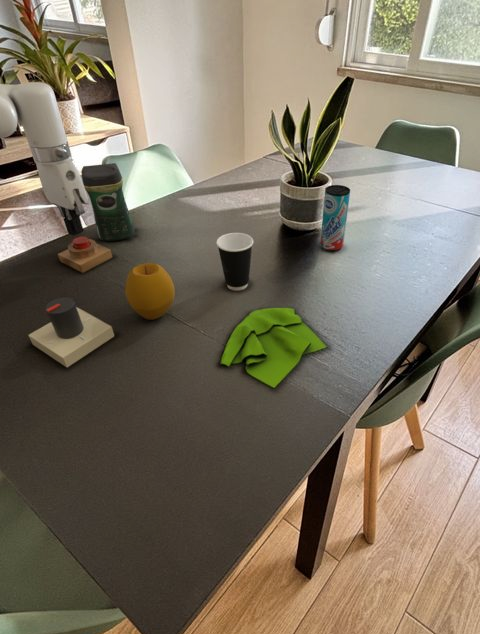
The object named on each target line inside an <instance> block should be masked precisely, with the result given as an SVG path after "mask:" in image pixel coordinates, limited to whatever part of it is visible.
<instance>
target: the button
mask: <svg viewBox="0 0 480 634" xmlns="http://www.w3.org/2000/svg"><path fill="white" fill-rule="evenodd" d="M88 239H89V238H88V237H87V236H78V237H76V238H73V240H72V242H73V244H74V247H75V249H78V250H81V249H86V248H88V247H90V243H89V240H88Z"/></svg>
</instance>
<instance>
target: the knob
mask: <svg viewBox="0 0 480 634" xmlns="http://www.w3.org/2000/svg"><path fill="white" fill-rule="evenodd" d="M76 307H77V305H76V303H75V300H74V299H72V298H70V297H58V298H55V299H53V300H51V301H49V302H48V303H47V304H46V306H45V312H46V314H47V316H48V318H49V321H50V322H51V323H52V325H53V328H54V330H55V332H56V334H57V336H58V337H60V338H63V339H69V338H73V337H76V336H78V335H79V334H80V333H81V332H82V331H83V329H84V327H83V324H82V321H81V319H80V316H79V313H78V311H77V308H78V307H77V308H76Z"/></svg>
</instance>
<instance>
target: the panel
mask: <svg viewBox="0 0 480 634" xmlns="http://www.w3.org/2000/svg"><path fill="white" fill-rule="evenodd" d="M76 308H77V311H78V313H79V316H80V319H81V321H82V324H83V327H84V329H83V331H82V332H81V333H80V334H79V335H78V336H76V337H73V338H69V339H63V338H60V337H58V336H57V334H56V332H55V330H54V328H53V325H52V323H51V321H50V322H49V323H46V324H45V325H43V326H42V327H39V328H37V329H36V330H34V331H33V332H30V333H29V334H28V335H27V336H28V337H29V339H30V342H31V344H32V345H33V346H34V347H35V348H37V349H38V350H40V351H42V352H43V353H44V354H46V355H47V356H49V357H50V358H52V359H53V360H55V361H56V362H58V363H60V364H61V365H62V366H64V367H66V368H69V367H71V366H72V365H73V364H75V363H77V362H78V361H79V360H81V359H83V358H84V357H86V356H87V355H88V354H90V353H92V352H93V351H94V350H96V349H97V348H99V347H101V346H102V345H103V344H106V343H107V342H108V341H110V340H111V339H113V338H114V337H115V332H114V330H113V326H112V325H110V324H108V323H106V322H104V321H103V320H101V319H99V318H98V317H95V316H94V315H92V314H90V313H89V312H87V311H85V310H83V309H81V308H79V307H77V306H76Z"/></svg>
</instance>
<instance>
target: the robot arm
mask: <svg viewBox="0 0 480 634" xmlns="http://www.w3.org/2000/svg"><path fill="white" fill-rule="evenodd" d="M18 124H20V125H21V126H22V129H23V132H24V134H25V137H26V141H27V143H28V147H29V149H30V153H31V155H32V159H33V161H34V163H35V164H36V169H37V173H38V178H39V180H40V183H41V187H42V190H43V193H44V196H45V197H46V199H47V200H48V201H49V203H50V202H51V203H52V204H53V205H54V206H56V207H57V209H58V211H59V214H60V216H61V218H63V222H64V225H65V229H66V231H67V234H68V235H70V236H71V237H74V236H77V235H79V234H82V233H84V227H83V224H82V221H81V216H82V215H83V214H86V211H85V208H84V206H83V205H88V204H89V198H88V197H89V196H88V193H87V191H86V190H85V187H84V184H83V181H82V175H81V174H80V173H81V172H79V169H78V165H77V164H76V162H75V160H74V159H73V155H72V152H71V147H70V144H69V141H68V138H67V134H66V131H65V127H64V122H63V120H62V116H61V113H60V109H59V105H58V102H57V98H56V95H55V92H54V90H53V88H52V87H51V86H50V85H49V84H47V83H45V82H37V81H31V82H30V81H29V82H23V83H22V82H21V83H19V84H7V83H0V139H5V138H8V137H10V136H11V135H13V134H14V133H15V132H16V130H17V128H18Z"/></svg>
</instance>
